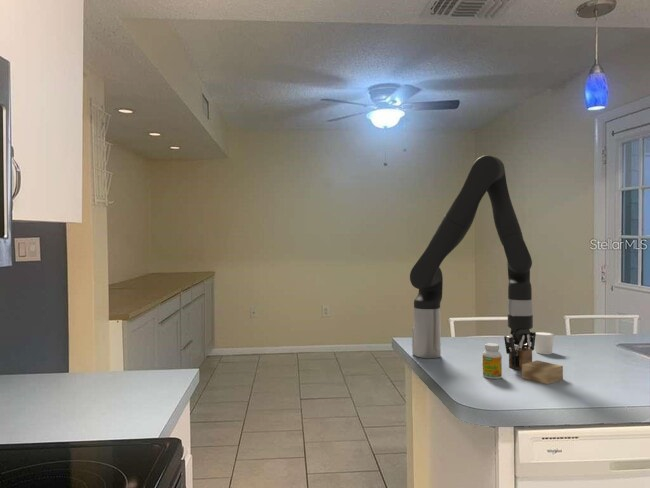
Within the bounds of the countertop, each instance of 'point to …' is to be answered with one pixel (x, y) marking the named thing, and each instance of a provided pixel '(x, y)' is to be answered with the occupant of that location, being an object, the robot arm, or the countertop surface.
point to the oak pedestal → (542, 372)
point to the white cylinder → (544, 342)
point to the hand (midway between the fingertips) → (520, 365)
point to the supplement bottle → (492, 361)
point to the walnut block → (522, 357)
